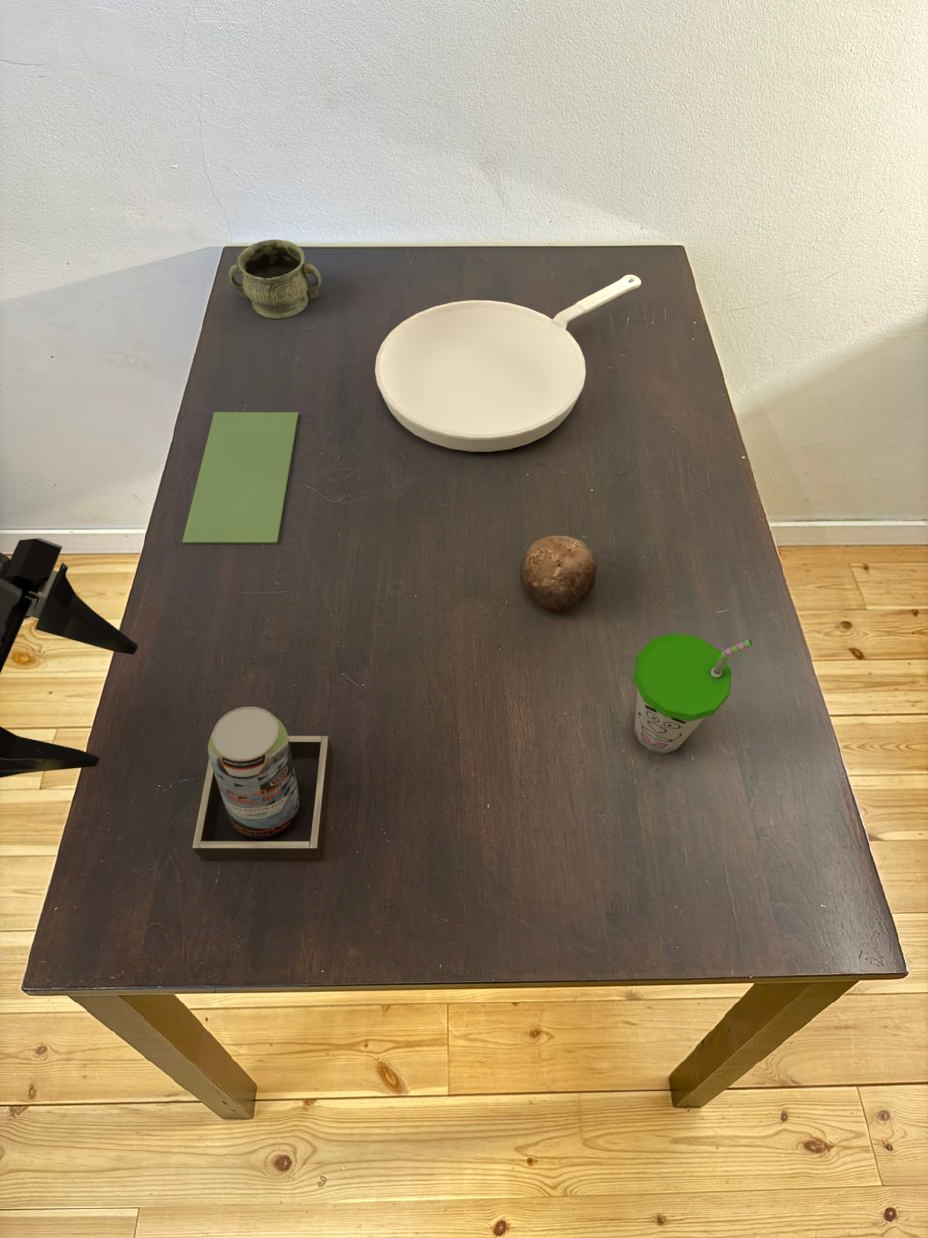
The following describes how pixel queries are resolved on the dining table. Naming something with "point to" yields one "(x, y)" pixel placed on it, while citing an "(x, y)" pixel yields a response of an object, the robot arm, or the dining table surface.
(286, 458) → the green mat
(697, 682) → the cup
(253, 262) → the vessel
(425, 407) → the pan
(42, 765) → the robot arm
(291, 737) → the frame
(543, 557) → the mushroom
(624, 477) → the dining table surface
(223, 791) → the beverage can
